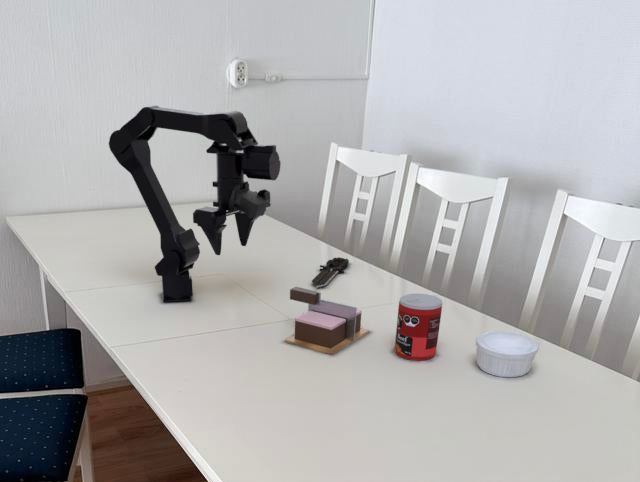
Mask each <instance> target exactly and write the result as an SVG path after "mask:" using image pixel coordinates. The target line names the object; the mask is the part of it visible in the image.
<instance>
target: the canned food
mask: <svg viewBox="0 0 640 482" xmlns="http://www.w3.org/2000/svg"><path fill="white" fill-rule="evenodd" d="M442 311H443V300H442V299H441V298H440V297H438V296H435V295H433V294H429V293H407V294H404V295H401V296H400V297H399V302H398V309H397V320H396V328H395V329H396V331H395V338H394V339H395V341H394V351H395V354H396V355H397V356H399V358H402V359H405V360H408V361H427V360H430V359H433V358H434V357H435V355H436V353H437V348H438V342H439V341H438V339H439V332H440V326H441V319H442Z"/></svg>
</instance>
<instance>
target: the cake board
mask: <svg viewBox="0 0 640 482" xmlns="http://www.w3.org/2000/svg"><path fill="white" fill-rule="evenodd" d="M369 333H370V330H369V329H366V328H362V327H360V331H359V332H357V333H355V340H354V341H352V340H348V339H345V340H344V341H342V342H341V343H339V344H337V345H336V346H334V347H332V348H331V349H330V348H327V347H323V346H319V345H315V344H312V343H308V342H304V341H301V340H297V339H295V334H293V335H291V336H289V337H287V338H286V339H284V343H286V344H287V343H288V344H291V345H295V346H298V347H302V348H305V349H309V350H313V351H316V352H320V353H324V354H328V355H331V356H333V355H335V354H337V353H338V352H340V351H341V350H343V349H344V348H346V347H348V346H349V345H351V344H352V343H355V342H356V341H358V340H359V339H361V338H362V337H364V336H366V335H367V334H369Z"/></svg>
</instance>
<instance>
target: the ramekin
mask: <svg viewBox="0 0 640 482" xmlns="http://www.w3.org/2000/svg"><path fill="white" fill-rule="evenodd" d="M475 346H476V364H477V365H478V367H479V368H480V370H482V371H483V372H484V373H487V374H489V375H492V376H495V377H496V376H497V377H501V378H517V377H522V376H524V375H526V374H527V373H528V372H529V371H530V370H531V368H532V366H533V363H534V360H535V357H536V355H537V353H538V352H539V343H538V342H537V341H536V340H535V339H534V338H532V337H531V336H528V335H526V334H522V333H519V332H515V331H507V330H492V331H491V330H490V331H486V332H483V333H480V334H479V335H478V336H477V337H476V339H475Z"/></svg>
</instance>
